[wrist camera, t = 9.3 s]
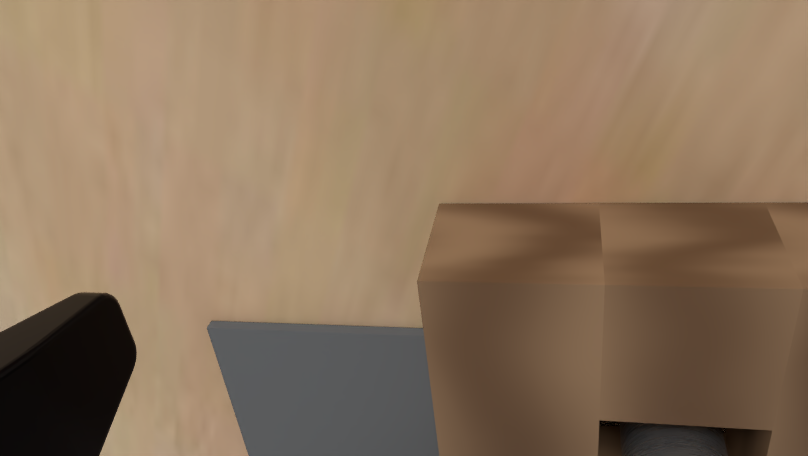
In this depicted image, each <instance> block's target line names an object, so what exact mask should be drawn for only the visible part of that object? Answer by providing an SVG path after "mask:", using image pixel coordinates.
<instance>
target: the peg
mask: <svg viewBox="0 0 808 456" xmlns="http://www.w3.org/2000/svg"><path fill="white" fill-rule="evenodd" d="M619 426H620V438H621V450H622V456H728V453H727V449H726V444H725V440H724V436H723V432H722V428H721V427H704V426H687V425H670V424H653V423H637V422H620V421H619Z"/></svg>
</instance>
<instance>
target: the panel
mask: <svg viewBox="0 0 808 456" xmlns="http://www.w3.org/2000/svg"><path fill="white" fill-rule="evenodd" d="M207 330H208V333H209V336H210V339H211V342H212V345H213V348H214V351H215V354H216V357H217V360H218V363H219V366H220V369H221V372H222V375H223V378H224V382H225V385H226V388H227V391H228V394H229V397H230V400H231V403H232V406H233V409H234V412H235V415H236V418H237V421H238V424H239V427H240V430H241V433H242V436H243V439H244V442H245V445H246V449H247V452H248V455H249V456H439V449H438V441H437V433H436V425H435V417H434V410H433V402H432V394H431V386H430V378H429V370H428V362H427V354H426V347H425V339H424V331H423V328H399V327H370V326H342V325H313V324H284V323H255V322H226V321H211V322H210V324H209V325H208V327H207Z"/></svg>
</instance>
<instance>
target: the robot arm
mask: <svg viewBox="0 0 808 456" xmlns="http://www.w3.org/2000/svg"><path fill="white" fill-rule="evenodd" d="M135 362H136V345H135V342H134V340H133V337H132V335H131V332H130V330H129V327H128V325H127V322H126V320H125V317H124V315H123V312H122V310H121V307H120V305H119V303H118V301H117V300H116V299H115V297H114V296H112V295H110V294H108V293H87V292H84V293H77V294H74V295H72V296H70V297H68V298H66V299H64V300H62V301H60V302H58V303H56V304H54V305H53V306H51V307H49V308H47V309H45V310H43V311H41V312H39V313H37V314H35V315H33V316H31V317H29V318H27V319H25V320H23V321H21V322H19V323H17V324H16V325H14V326H12V327H10V328H8V329H6V330H4V331H2V332H0V456H99V455H100V452H101V450H102V447H103V445H104V442H105V440H106V437H107V435H108V432H109V429H110V427H111V424H112V422H113V419H114V417H115V414H116V412H117V409H118V407H119V404H120V402H121V399H122V397H123V394H124V392H125V389H126V387H127V384H128V381H129V379H130V376H131V374H132V371H133V369H134V366H135Z"/></svg>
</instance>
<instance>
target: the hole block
mask: <svg viewBox="0 0 808 456" xmlns="http://www.w3.org/2000/svg"><path fill="white" fill-rule="evenodd" d="M417 284H418V291H419V299H420V307H421V315H422V323H423V331H424V339H425V347H426V354H427V362H428V370H429V378H430V386H431V394H432V402H433V410H434V417H435V425H436V433H437V441H438V449H439V456H622V450H621V438H620V427H617V426H600V425H599V420H603V421H620V422H637V423H653V424H670V425H687V426H704V427H721V428H726V433H723V436H724V440H725V444H726V449H727V453H728V456H808V203H562V204H439V207H438V210H437V214H436V217H435V221H434V224H433V228H432V231H431V235H430V238H429V242H428V245H427V249H426V252H425V256H424V259H423V263H422V266H421V270H420V273H419V277H418V280H417Z"/></svg>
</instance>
